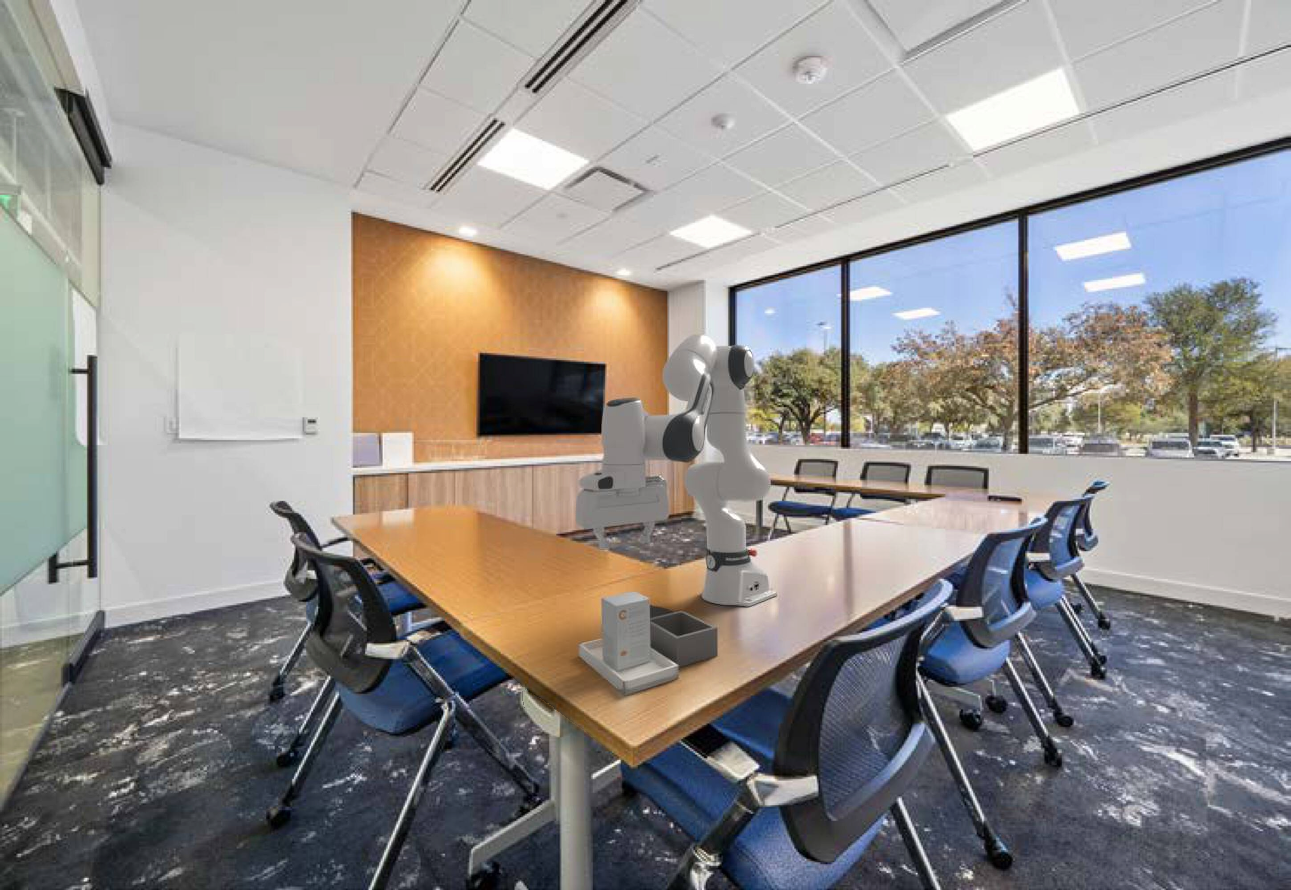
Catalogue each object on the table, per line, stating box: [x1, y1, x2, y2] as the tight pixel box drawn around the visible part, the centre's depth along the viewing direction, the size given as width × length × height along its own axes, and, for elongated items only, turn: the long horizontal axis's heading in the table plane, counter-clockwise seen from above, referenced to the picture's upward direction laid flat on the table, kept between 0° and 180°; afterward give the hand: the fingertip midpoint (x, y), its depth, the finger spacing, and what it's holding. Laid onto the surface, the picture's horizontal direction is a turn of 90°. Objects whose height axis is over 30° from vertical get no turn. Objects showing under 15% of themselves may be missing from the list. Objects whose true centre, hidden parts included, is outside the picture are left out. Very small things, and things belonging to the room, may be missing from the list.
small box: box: [600, 591, 651, 671], centre depth 104 cm, size 8×6×13 cm
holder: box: [650, 610, 719, 668], centre depth 111 cm, size 11×13×6 cm
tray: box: [578, 637, 680, 696], centre depth 104 cm, size 12×20×2 cm, turn 32°
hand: (624, 546), depth 103 cm, fingers open, 8 cm apart
